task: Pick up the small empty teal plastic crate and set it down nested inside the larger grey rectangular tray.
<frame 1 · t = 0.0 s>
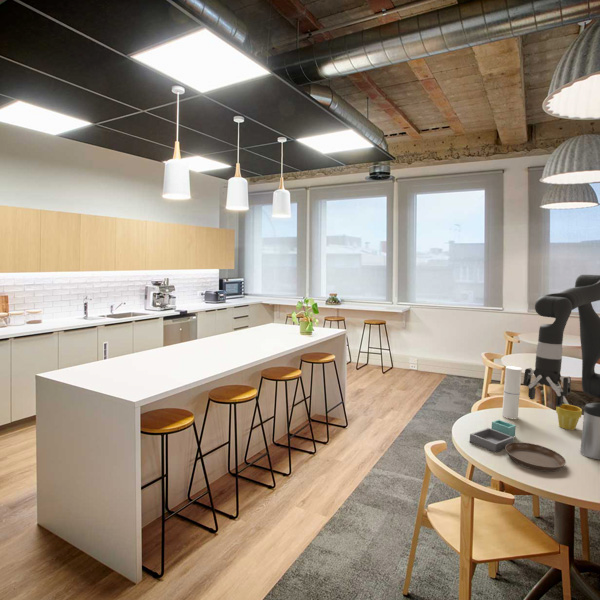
hand: (544, 402, 145), 29 cm above the table, fingers open, 8 cm apart
cylindrical container: (509, 417, 214), on the table
small crate: (502, 434, 191), on the table
plant pot: (567, 427, 203), on the table
plant saucer: (533, 462, 166), on the table
grey rectangular tray: (491, 443, 181), on the table
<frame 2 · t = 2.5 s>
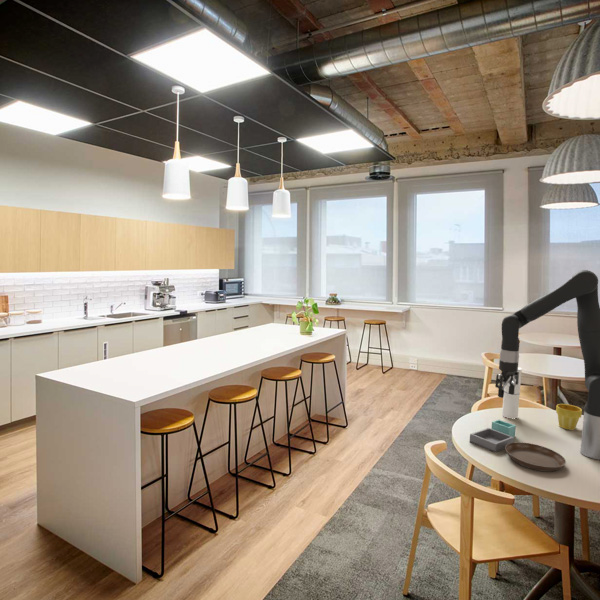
hand: (506, 395, 190), 18 cm above the table, fingers open, 8 cm apart
nothing on the table moved.
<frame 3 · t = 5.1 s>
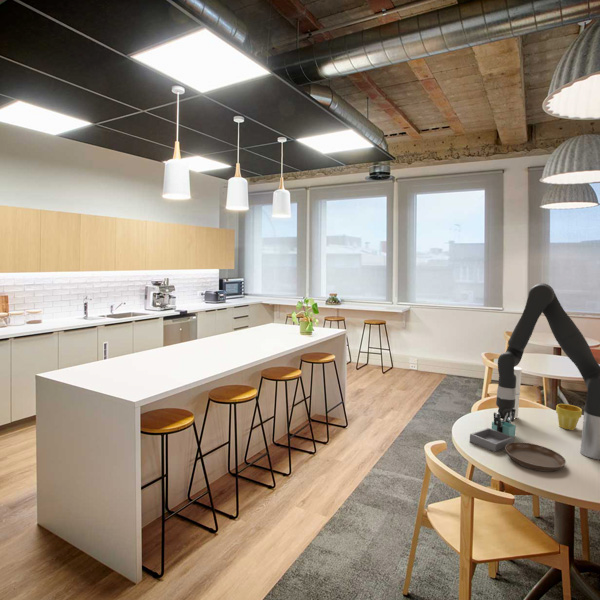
hand: (503, 432, 191), 1 cm above the table, fingers closed on small crate, 5 cm apart
small crate: (503, 434, 191), on the table, touching gripper
everything else where it was.
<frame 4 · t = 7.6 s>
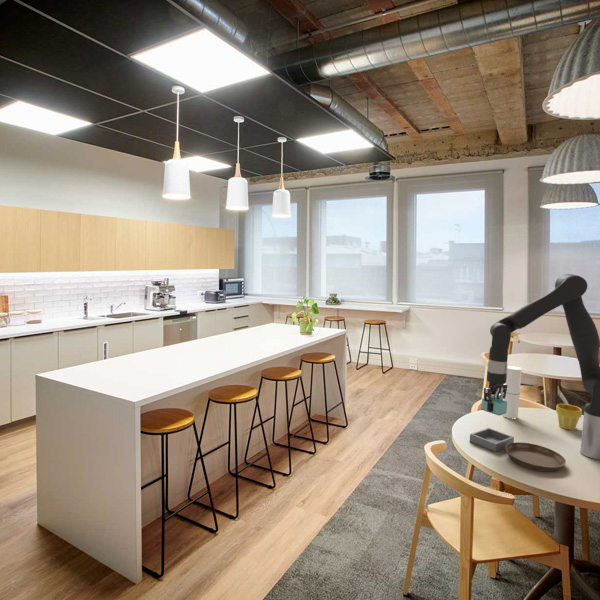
hand: (494, 409, 180), 15 cm above the table, fingers closed on small crate, 5 cm apart
small crate: (493, 411, 180), point 14 cm above the table, touching gripper
everything else where it was.
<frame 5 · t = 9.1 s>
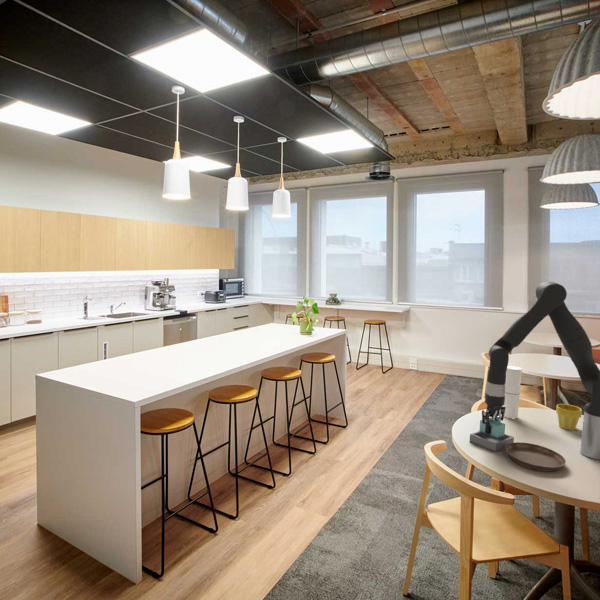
hand: (492, 431, 180), 5 cm above the table, fingers closed on small crate, 5 cm apart
small crate: (491, 433, 181), point 4 cm above the table, touching gripper
everything else where it was.
when the fingers open (4 cm above the table, at t = 10.4 s): small crate drops 2 cm, resting on grey rectangular tray.
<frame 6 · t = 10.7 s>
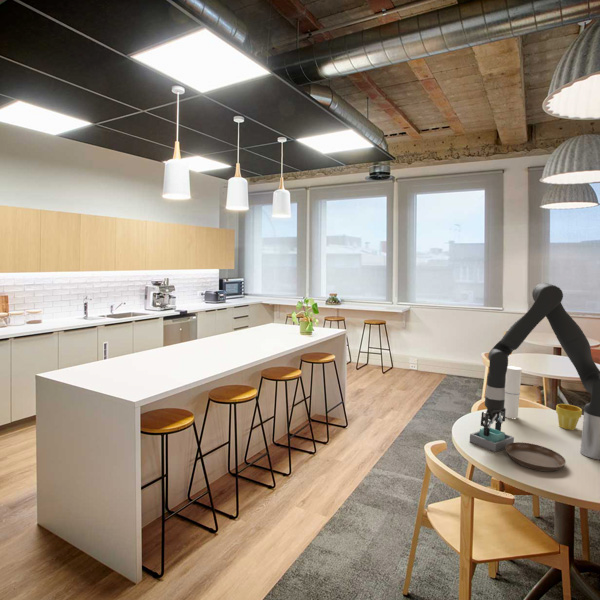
hand: (492, 433, 181), 4 cm above the table, fingers open, 8 cm apart
small crate: (491, 442, 181), point 1 cm above the table, touching grey rectangular tray
everything else where it was.
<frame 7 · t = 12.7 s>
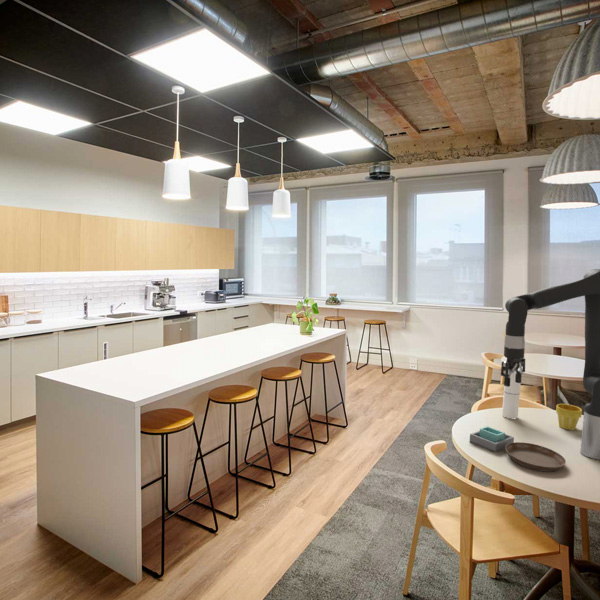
hand: (512, 384, 178), 26 cm above the table, fingers open, 8 cm apart
nothing on the table moved.
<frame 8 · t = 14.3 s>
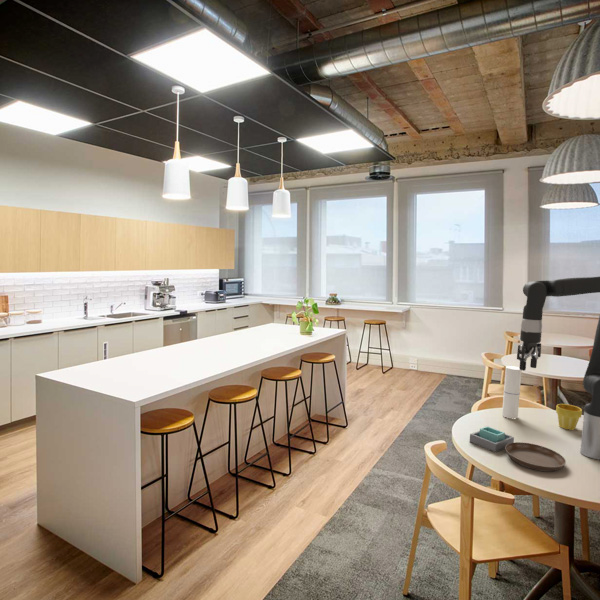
hand: (527, 368, 176), 33 cm above the table, fingers open, 8 cm apart
nothing on the table moved.
at the end: small crate 0.0 cm off-centre on the grey rectangular tray, point 0.6 cm above the grey rectangular tray's base; small crate tilted 0°; the gripper is holding nothing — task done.
